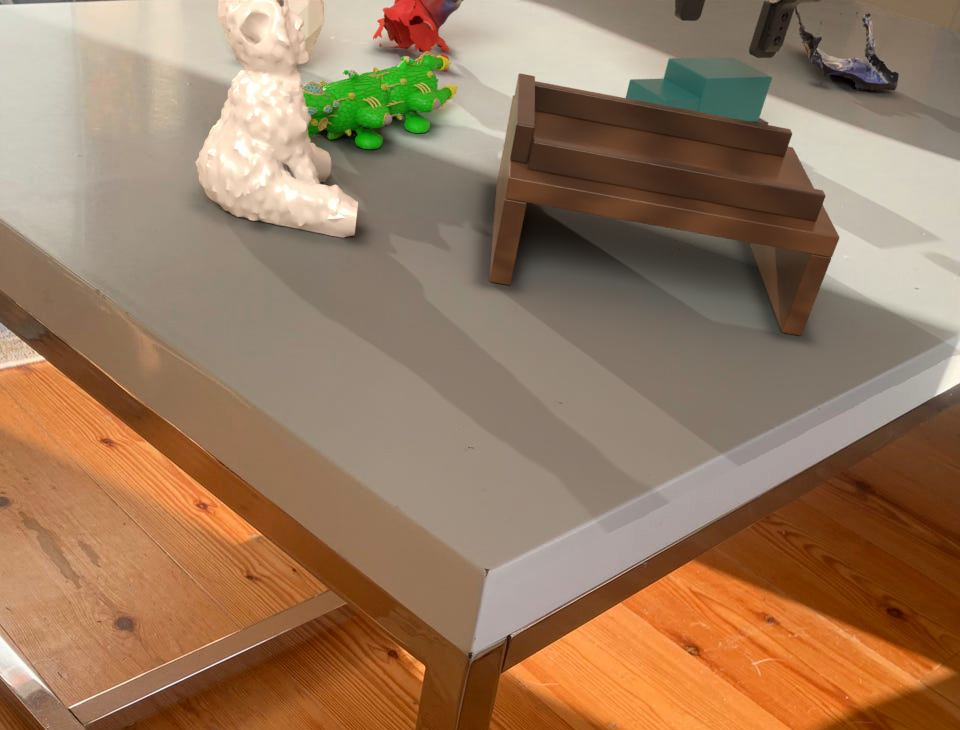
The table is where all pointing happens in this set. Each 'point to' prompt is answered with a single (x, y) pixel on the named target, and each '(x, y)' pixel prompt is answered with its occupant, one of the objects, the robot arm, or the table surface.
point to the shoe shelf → (665, 182)
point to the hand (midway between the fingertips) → (722, 37)
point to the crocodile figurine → (378, 100)
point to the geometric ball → (303, 3)
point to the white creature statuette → (271, 131)
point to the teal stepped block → (707, 88)
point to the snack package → (851, 61)
